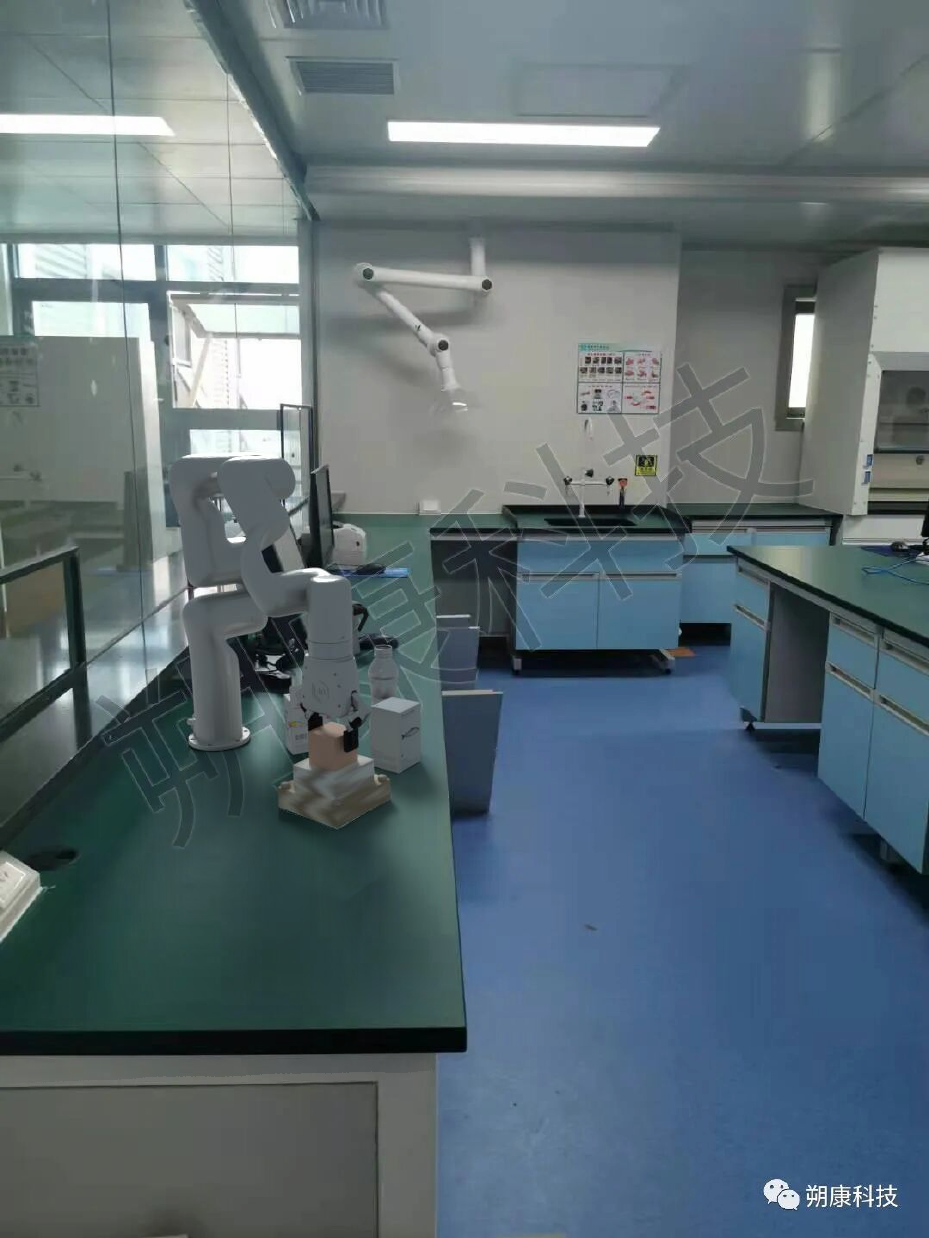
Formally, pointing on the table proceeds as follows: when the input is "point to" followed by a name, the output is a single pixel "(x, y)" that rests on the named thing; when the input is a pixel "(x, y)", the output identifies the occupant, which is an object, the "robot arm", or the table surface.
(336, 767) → the tan cube
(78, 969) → the table surface
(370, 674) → the plastic bottle
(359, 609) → the coffee maker
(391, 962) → the table surface
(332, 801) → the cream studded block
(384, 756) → the supplement box
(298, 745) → the ink cartridge box
